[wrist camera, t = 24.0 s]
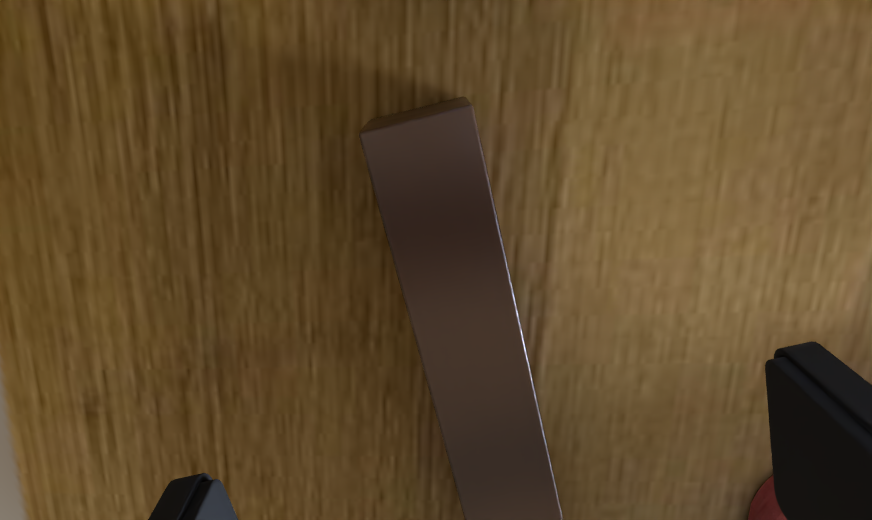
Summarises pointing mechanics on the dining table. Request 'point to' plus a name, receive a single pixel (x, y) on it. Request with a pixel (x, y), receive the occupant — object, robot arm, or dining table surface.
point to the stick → (462, 307)
